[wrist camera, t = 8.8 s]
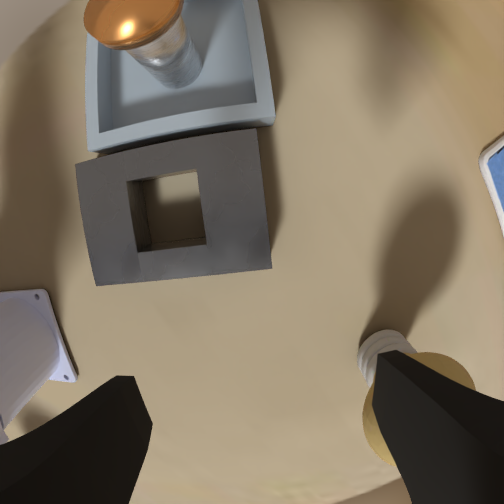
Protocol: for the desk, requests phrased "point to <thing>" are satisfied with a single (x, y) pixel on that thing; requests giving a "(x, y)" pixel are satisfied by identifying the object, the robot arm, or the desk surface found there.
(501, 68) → the desk surface
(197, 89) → the tray
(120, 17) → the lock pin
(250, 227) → the block
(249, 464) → the desk surface
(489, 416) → the robot arm
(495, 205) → the tablet computer
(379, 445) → the light bulb
